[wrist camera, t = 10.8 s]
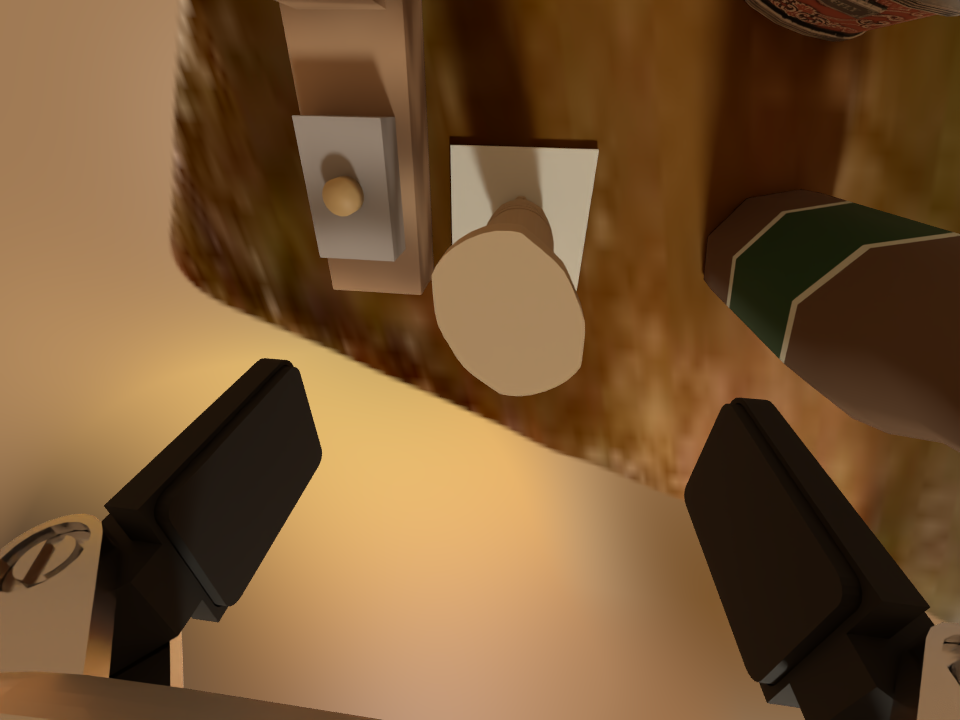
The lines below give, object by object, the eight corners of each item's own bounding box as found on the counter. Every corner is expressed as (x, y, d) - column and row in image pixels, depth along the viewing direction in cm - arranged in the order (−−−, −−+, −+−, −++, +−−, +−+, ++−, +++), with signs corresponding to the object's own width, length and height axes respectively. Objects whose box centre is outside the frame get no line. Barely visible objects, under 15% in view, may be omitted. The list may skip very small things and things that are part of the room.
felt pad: (451, 144, 25) (450, 145, 25) (598, 149, 24) (598, 149, 24) (453, 281, 30) (453, 283, 29) (576, 288, 29) (576, 290, 29)
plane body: (303, -70, 21) (204, -147, 14) (418, -72, 20) (366, -152, 14) (355, 269, 30) (309, 311, 24) (433, 273, 30) (407, 317, 23)
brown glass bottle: (676, 289, 28) (1033, 739, 8) (736, 171, 24) (1786, 500, 4) (782, 314, 28) (1393, 819, 8) (860, 201, 24) (2503, 670, 4)
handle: (507, 277, 29) (488, 409, 16) (465, 191, 26) (403, 270, 13) (571, 248, 27) (606, 370, 15) (534, 154, 24) (538, 204, 12)
